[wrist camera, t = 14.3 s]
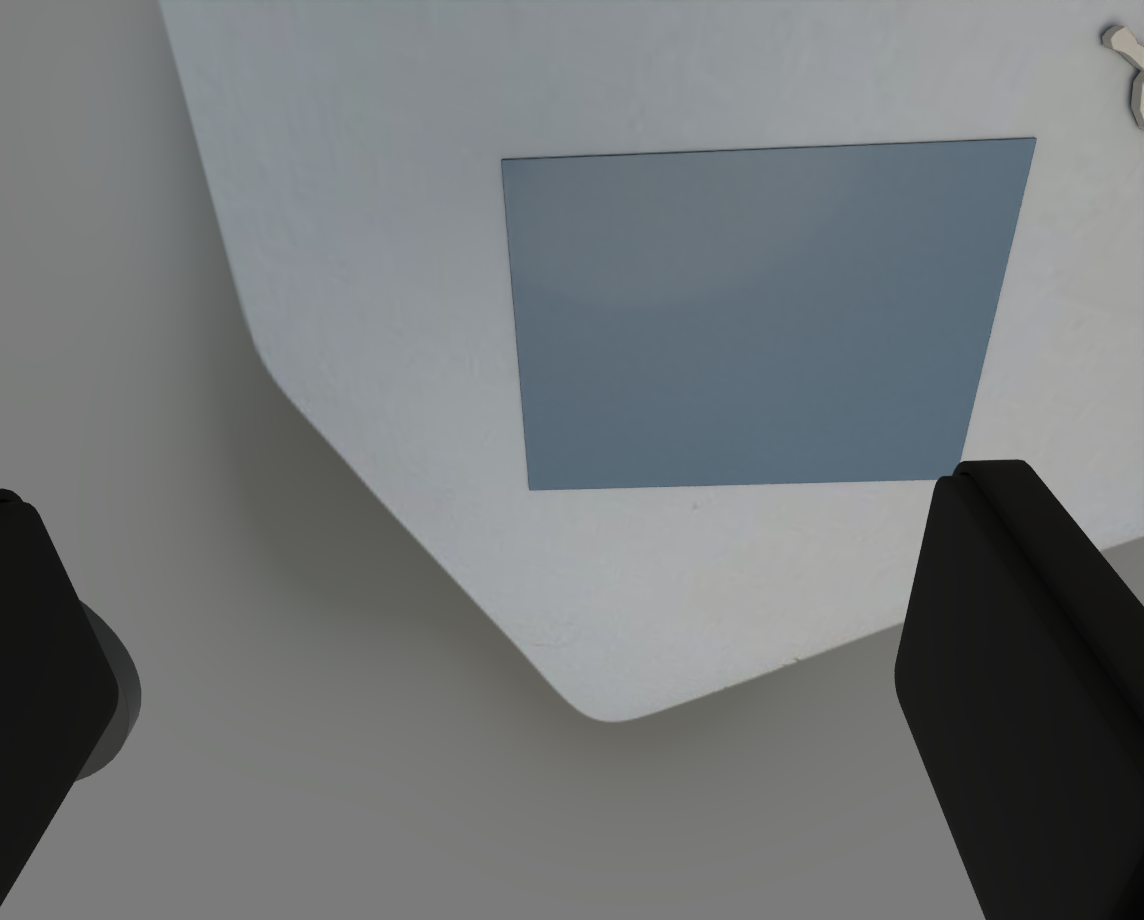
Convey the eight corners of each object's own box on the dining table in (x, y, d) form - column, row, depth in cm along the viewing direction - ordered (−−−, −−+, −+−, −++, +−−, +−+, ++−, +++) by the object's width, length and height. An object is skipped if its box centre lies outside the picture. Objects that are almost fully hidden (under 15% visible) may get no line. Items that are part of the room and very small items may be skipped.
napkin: (529, 489, 43) (529, 490, 43) (501, 159, 34) (501, 160, 34) (955, 477, 42) (955, 479, 42) (1035, 138, 33) (1037, 138, 33)
